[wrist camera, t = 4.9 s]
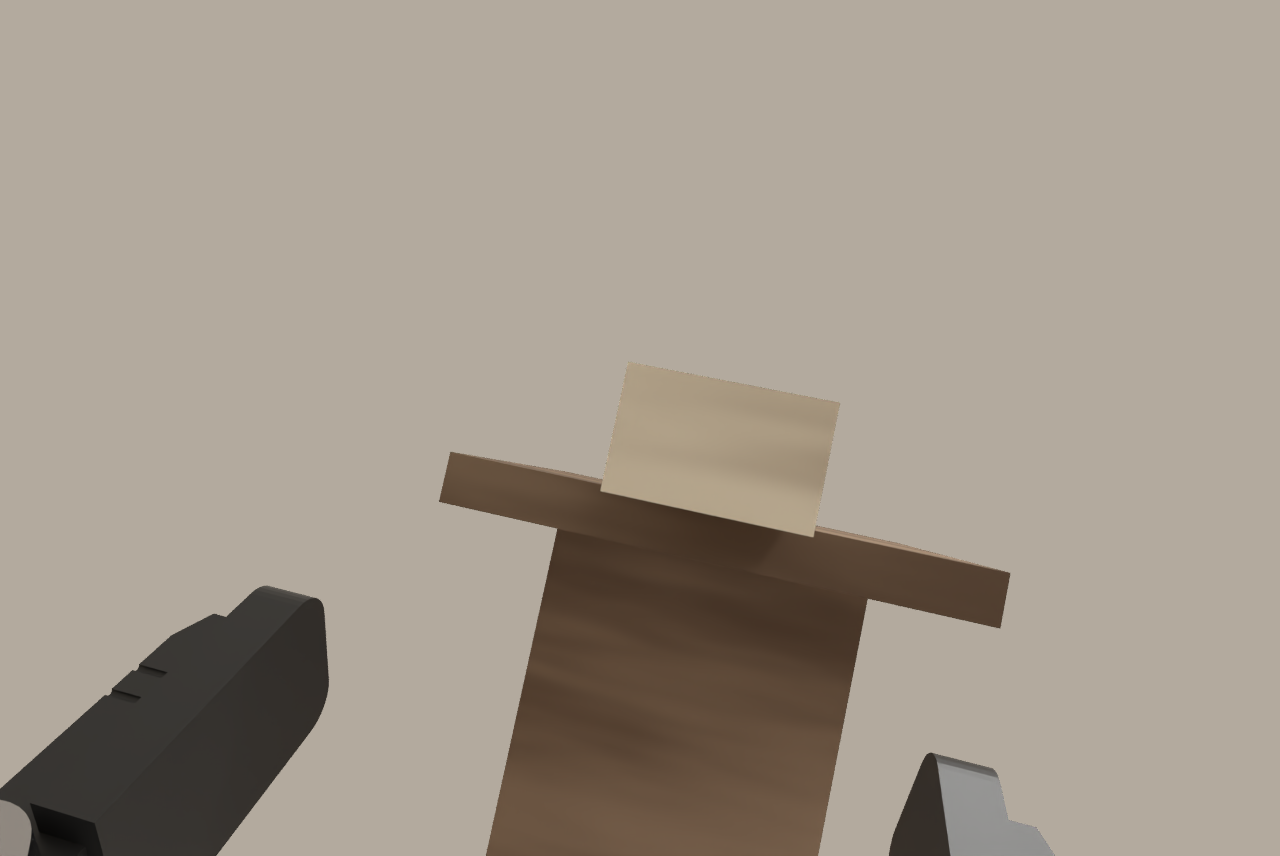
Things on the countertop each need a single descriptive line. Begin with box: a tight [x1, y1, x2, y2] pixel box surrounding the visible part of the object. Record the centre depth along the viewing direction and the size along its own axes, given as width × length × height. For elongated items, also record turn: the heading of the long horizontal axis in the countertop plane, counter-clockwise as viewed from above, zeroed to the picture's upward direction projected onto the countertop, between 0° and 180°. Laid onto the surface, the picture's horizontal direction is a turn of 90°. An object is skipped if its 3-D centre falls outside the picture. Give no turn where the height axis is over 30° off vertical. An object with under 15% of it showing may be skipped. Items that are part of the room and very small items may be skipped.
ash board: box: [600, 362, 840, 537], centre depth 25 cm, size 20×4×2 cm, turn 173°
